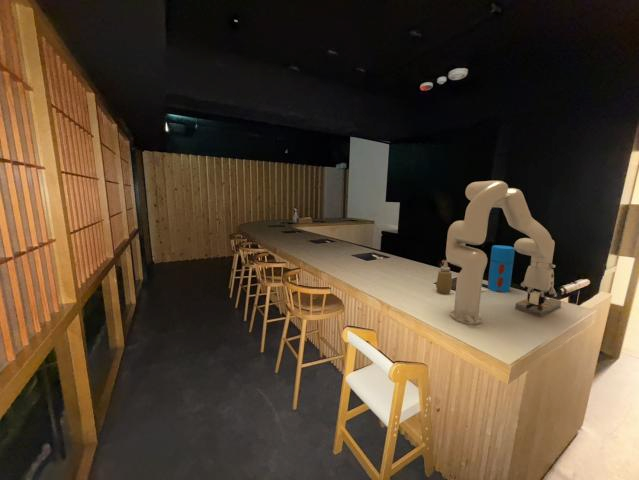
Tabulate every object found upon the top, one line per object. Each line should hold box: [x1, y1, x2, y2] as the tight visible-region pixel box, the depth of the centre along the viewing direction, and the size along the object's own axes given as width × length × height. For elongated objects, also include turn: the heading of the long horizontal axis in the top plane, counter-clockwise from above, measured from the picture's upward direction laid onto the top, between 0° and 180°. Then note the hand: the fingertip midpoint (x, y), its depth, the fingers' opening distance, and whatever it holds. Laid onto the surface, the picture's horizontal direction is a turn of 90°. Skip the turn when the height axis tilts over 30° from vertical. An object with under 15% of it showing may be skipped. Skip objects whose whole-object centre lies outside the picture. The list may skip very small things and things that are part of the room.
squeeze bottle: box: [435, 260, 453, 295], centre depth 148 cm, size 8×8×18 cm
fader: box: [529, 290, 541, 306], centre depth 127 cm, size 4×3×6 cm
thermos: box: [487, 244, 516, 294], centre depth 153 cm, size 11×11×25 cm
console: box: [514, 296, 562, 318], centre depth 129 cm, size 22×10×3 cm, turn 121°
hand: (535, 302), depth 127 cm, fingers closed on fader, 3 cm apart
